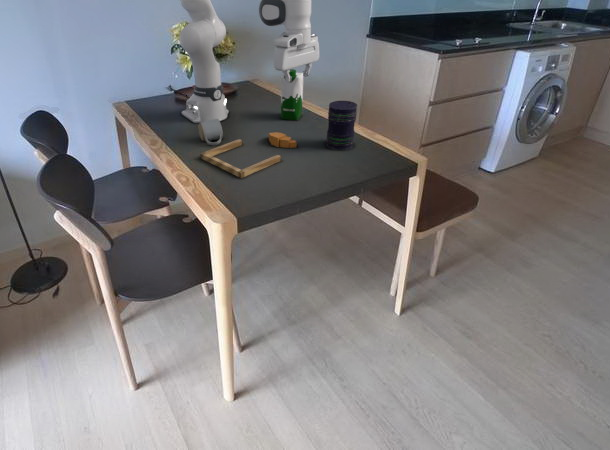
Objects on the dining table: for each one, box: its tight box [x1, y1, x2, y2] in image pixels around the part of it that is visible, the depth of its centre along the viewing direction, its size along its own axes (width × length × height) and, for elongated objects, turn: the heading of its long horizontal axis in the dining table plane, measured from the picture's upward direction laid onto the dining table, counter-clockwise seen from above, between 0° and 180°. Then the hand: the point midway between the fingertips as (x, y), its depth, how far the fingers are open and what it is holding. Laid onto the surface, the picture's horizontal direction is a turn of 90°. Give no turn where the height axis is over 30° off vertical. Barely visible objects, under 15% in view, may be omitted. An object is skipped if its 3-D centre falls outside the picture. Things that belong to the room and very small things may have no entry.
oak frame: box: [200, 138, 282, 179], centre depth 145 cm, size 22×18×2 cm
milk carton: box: [280, 68, 304, 121], centre depth 174 cm, size 9×9×20 cm
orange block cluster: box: [268, 131, 297, 149], centre depth 155 cm, size 14×6×4 cm, turn 42°
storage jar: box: [326, 100, 358, 151], centre depth 149 cm, size 10×10×15 cm
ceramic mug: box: [197, 119, 224, 146], centre depth 158 cm, size 11×8×8 cm
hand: (297, 78), depth 148 cm, fingers open, 8 cm apart
